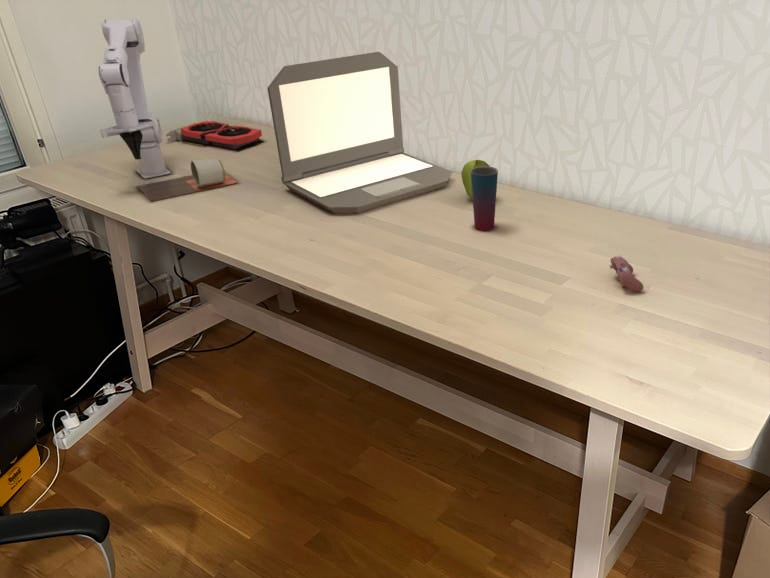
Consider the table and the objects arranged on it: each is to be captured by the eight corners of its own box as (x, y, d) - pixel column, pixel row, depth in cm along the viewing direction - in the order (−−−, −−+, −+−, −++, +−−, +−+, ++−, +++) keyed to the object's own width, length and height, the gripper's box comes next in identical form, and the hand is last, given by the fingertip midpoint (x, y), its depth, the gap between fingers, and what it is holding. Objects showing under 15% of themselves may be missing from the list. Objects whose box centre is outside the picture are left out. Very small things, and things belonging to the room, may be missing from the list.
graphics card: (223, 156, 231) (221, 144, 229) (163, 141, 245) (160, 130, 243) (268, 141, 245) (266, 130, 242) (208, 128, 259) (206, 117, 257)
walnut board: (137, 187, 207) (137, 186, 206) (220, 170, 219) (220, 169, 219) (151, 201, 196) (151, 200, 196) (237, 183, 209) (237, 182, 209)
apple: (465, 193, 200) (465, 154, 194) (494, 195, 199) (494, 155, 192) (458, 204, 193) (457, 163, 187) (488, 206, 192) (488, 165, 185)
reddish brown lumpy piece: (615, 279, 158) (604, 255, 154) (633, 270, 157) (622, 245, 153) (626, 300, 150) (614, 274, 146) (645, 291, 149) (635, 265, 145)
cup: (500, 224, 181) (501, 167, 173) (492, 233, 176) (493, 176, 168) (476, 220, 183) (475, 165, 175) (467, 230, 178) (466, 173, 170)
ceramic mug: (228, 184, 207) (223, 158, 203) (201, 190, 203) (195, 164, 199) (217, 175, 214) (211, 150, 210) (190, 181, 210) (184, 155, 206)
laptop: (340, 221, 184) (323, 88, 165) (283, 190, 203) (262, 69, 185) (463, 183, 207) (461, 64, 189) (402, 159, 227) (394, 49, 208)
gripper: (98, 117, 186) (114, 166, 193) (154, 108, 193) (167, 157, 200) (93, 111, 190) (108, 160, 198) (148, 103, 197) (160, 151, 205)
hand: (137, 158), depth 199 cm, fingers closed
